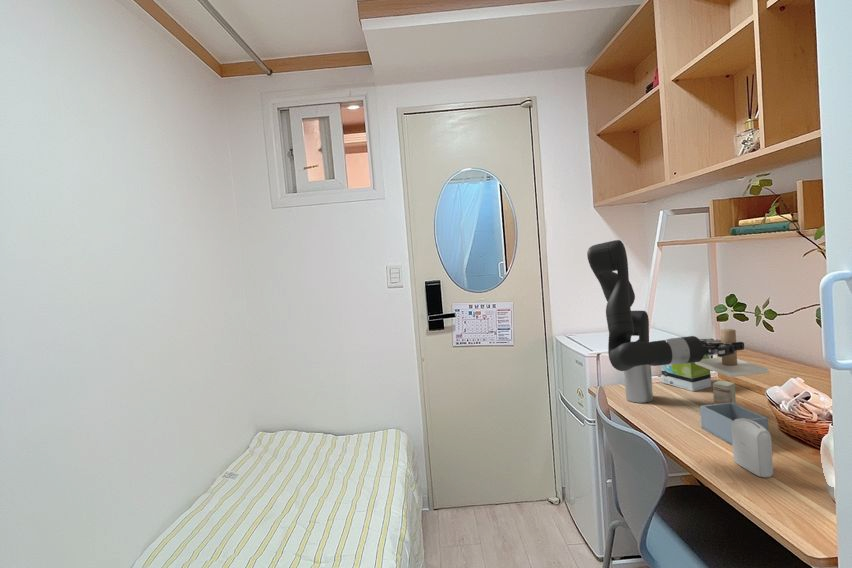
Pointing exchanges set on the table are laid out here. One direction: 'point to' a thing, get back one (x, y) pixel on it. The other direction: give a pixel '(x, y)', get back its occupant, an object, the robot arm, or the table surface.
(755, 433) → the photo printer
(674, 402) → the table surface
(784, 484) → the table surface
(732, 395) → the skincare box
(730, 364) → the lid
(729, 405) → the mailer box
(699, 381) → the tea box
